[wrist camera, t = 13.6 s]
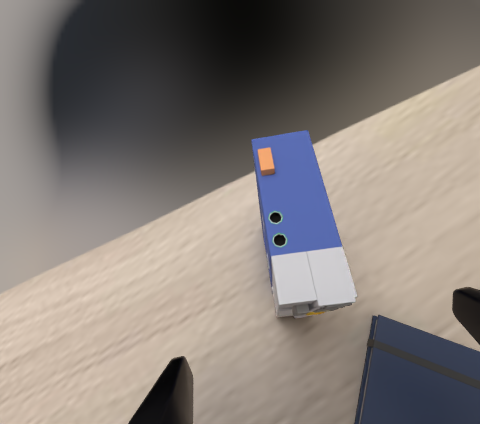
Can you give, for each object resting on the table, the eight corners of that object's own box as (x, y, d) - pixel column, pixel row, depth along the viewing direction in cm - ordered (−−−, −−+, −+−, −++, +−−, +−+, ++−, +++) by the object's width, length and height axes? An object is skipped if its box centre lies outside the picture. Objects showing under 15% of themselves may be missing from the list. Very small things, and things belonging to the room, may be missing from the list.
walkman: (261, 227, 22) (249, 133, 12) (292, 223, 22) (309, 123, 11) (276, 321, 19) (278, 313, 8) (312, 317, 19) (364, 303, 8)
